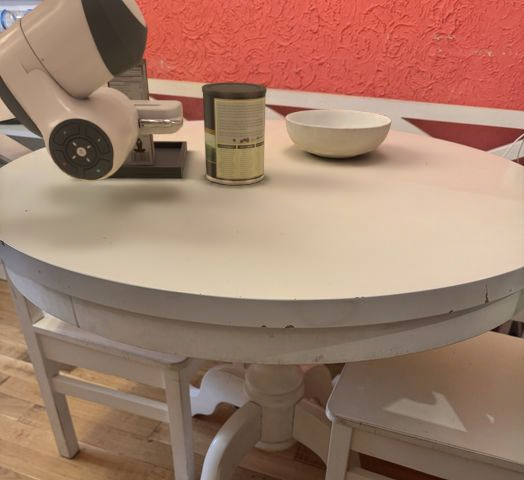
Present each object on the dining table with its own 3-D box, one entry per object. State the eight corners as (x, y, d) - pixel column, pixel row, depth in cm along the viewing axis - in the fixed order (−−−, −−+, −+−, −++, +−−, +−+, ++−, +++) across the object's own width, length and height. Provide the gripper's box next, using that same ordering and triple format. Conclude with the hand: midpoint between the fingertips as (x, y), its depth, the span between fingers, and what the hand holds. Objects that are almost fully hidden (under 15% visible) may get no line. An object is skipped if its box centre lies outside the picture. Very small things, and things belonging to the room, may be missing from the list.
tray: (77, 177, 85) (75, 166, 84) (99, 150, 101) (98, 140, 100) (181, 178, 86) (181, 167, 85) (187, 150, 102) (186, 141, 101)
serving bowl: (356, 139, 114) (360, 106, 110) (405, 163, 97) (412, 125, 94) (270, 144, 108) (271, 109, 104) (307, 170, 92) (310, 130, 88)
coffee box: (121, 153, 96) (108, 57, 87) (155, 153, 97) (146, 58, 88) (118, 166, 89) (103, 62, 80) (154, 165, 90) (144, 63, 80)
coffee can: (193, 177, 86) (188, 86, 78) (230, 165, 93) (229, 80, 85) (240, 189, 81) (240, 93, 73) (275, 175, 88) (279, 86, 80)
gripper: (180, 99, 68) (185, 85, 79) (26, 97, 67) (53, 84, 78) (183, 148, 72) (188, 128, 83) (37, 147, 70) (62, 127, 81)
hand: (122, 106), depth 80 cm, fingers open, 8 cm apart
